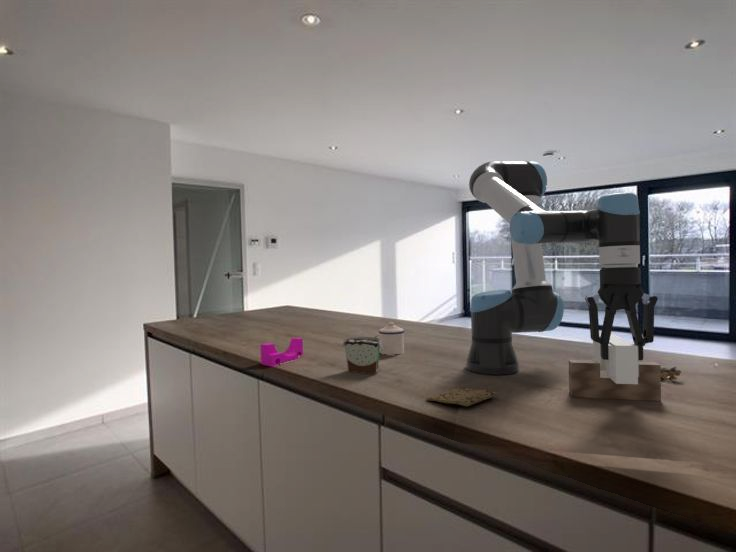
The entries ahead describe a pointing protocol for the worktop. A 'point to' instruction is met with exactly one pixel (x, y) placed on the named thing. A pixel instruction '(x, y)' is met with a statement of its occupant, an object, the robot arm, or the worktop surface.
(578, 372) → the walnut notched block
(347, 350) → the food container
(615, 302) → the robot arm
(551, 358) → the worktop surface
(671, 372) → the frog figurine
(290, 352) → the toy block
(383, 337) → the teacup with lid
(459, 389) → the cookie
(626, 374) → the white bridge
